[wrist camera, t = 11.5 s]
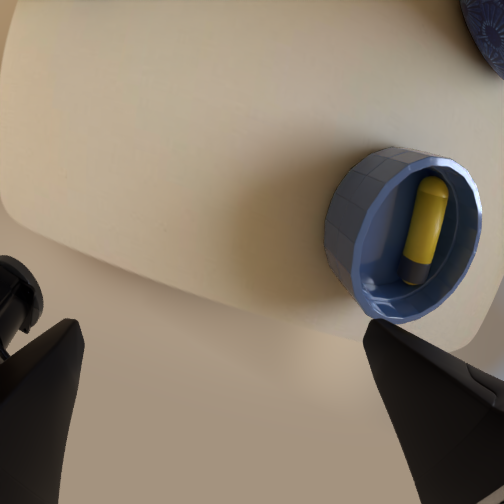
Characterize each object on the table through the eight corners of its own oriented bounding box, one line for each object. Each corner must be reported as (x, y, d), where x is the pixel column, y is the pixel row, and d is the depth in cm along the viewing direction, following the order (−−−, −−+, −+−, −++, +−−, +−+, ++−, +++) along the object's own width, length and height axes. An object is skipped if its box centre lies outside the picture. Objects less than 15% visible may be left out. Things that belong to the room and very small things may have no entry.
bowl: (386, 308, 25) (414, 341, 20) (288, 249, 21) (311, 285, 16) (459, 205, 22) (497, 224, 17) (382, 112, 17) (428, 115, 13)
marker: (388, 277, 22) (409, 274, 23) (408, 293, 20) (429, 289, 21) (413, 170, 19) (433, 175, 20) (439, 178, 16) (458, 183, 17)
